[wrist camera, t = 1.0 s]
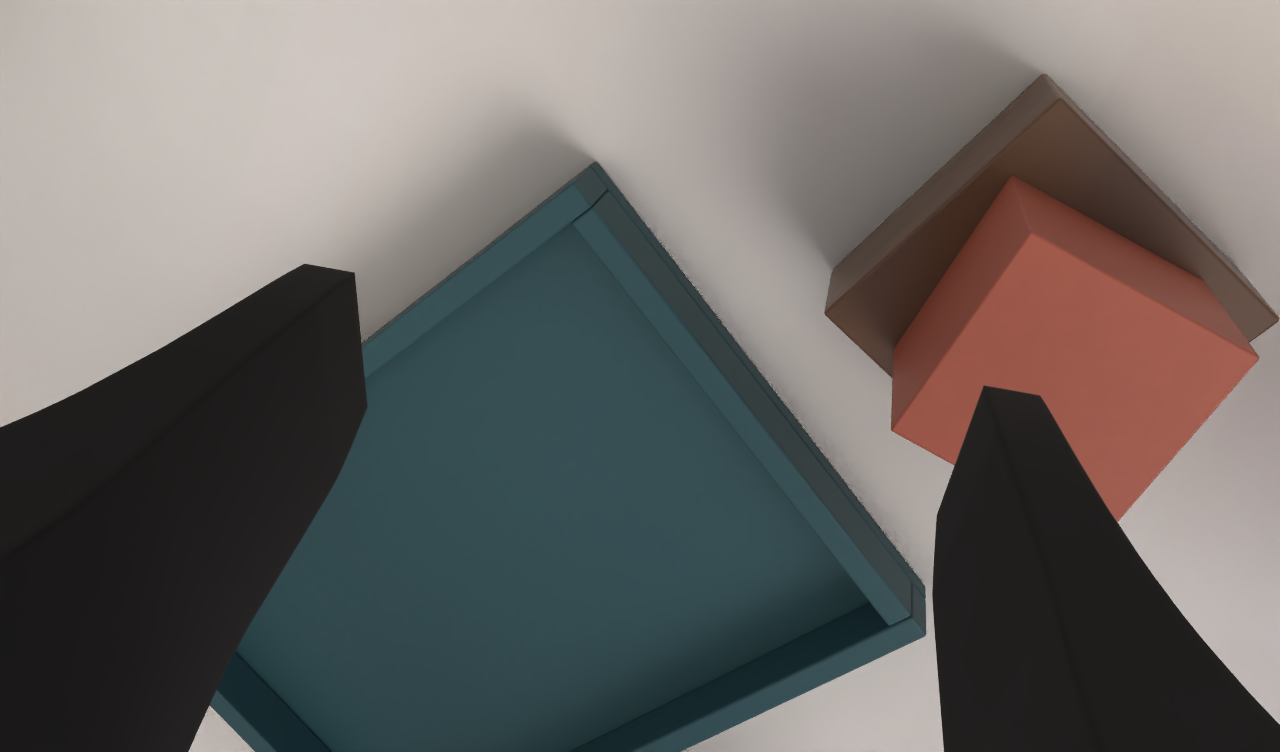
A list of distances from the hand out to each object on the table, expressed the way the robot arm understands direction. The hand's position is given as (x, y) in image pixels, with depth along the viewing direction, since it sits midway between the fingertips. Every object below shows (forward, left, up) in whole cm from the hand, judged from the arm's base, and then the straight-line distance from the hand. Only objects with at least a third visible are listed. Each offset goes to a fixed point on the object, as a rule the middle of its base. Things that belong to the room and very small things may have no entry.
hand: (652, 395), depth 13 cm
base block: (-6, -3, -15) cm, 16 cm away
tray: (-5, +14, -15) cm, 21 cm away
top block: (-6, -3, -12) cm, 14 cm away
